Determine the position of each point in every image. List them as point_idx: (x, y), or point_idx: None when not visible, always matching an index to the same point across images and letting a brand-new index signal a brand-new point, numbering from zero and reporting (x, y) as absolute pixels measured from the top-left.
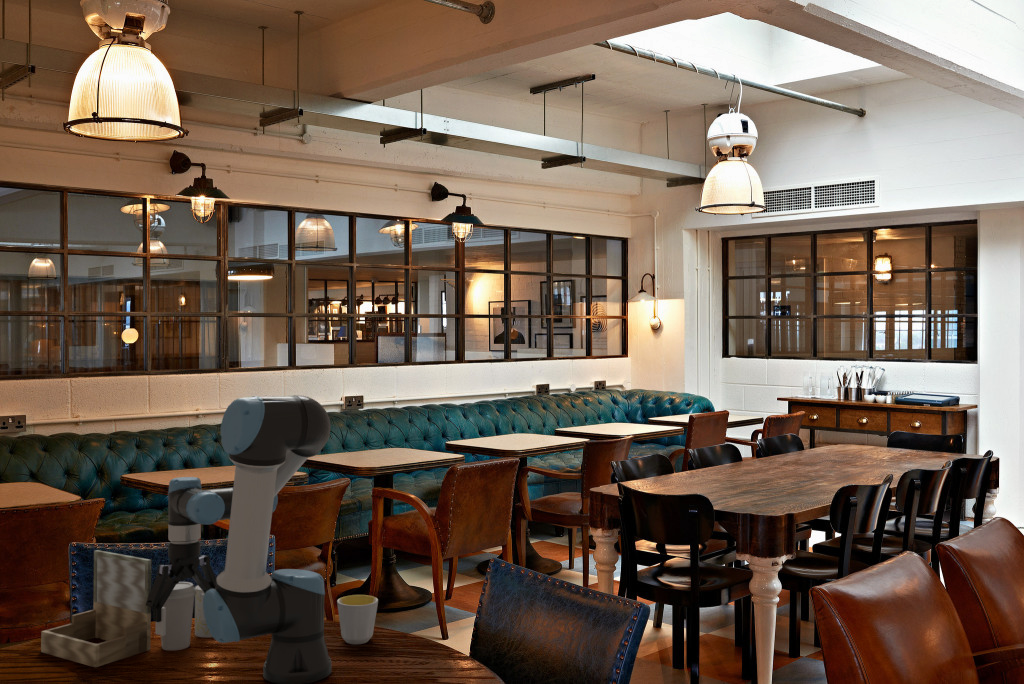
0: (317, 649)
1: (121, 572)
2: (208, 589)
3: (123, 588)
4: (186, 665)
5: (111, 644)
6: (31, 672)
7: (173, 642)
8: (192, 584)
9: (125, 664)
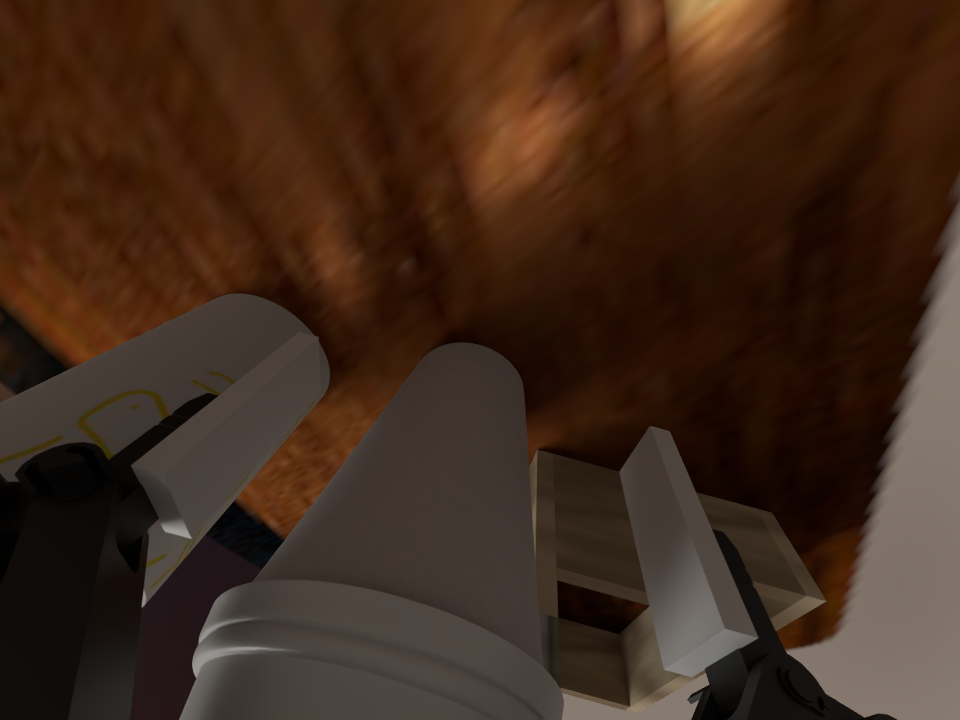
0: None
1: None
2: (85, 543)
3: None
4: (748, 166)
5: None
6: (812, 616)
7: (519, 393)
8: None
9: (729, 447)
